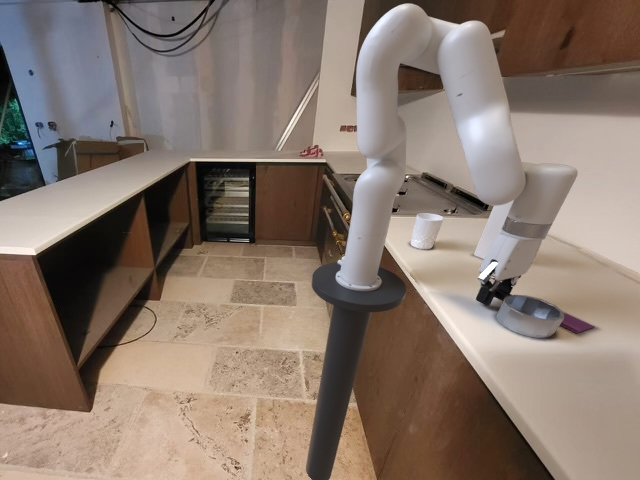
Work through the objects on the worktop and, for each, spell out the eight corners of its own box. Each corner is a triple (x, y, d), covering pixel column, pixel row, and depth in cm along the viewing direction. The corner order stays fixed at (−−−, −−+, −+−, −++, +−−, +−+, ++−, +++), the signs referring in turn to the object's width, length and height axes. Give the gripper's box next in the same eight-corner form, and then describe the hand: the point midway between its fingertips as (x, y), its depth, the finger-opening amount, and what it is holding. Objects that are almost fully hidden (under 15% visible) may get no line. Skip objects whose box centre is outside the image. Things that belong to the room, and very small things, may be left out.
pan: (466, 305, 78) (473, 288, 75) (495, 297, 80) (503, 281, 78) (532, 342, 66) (543, 324, 63) (564, 331, 68) (576, 314, 66)
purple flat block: (517, 304, 77) (518, 302, 77) (534, 300, 79) (535, 298, 79) (576, 333, 68) (577, 331, 68) (594, 327, 70) (595, 325, 69)
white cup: (406, 246, 108) (414, 217, 103) (411, 239, 114) (419, 211, 108) (432, 251, 104) (442, 222, 99) (435, 244, 110) (445, 215, 105)
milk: (485, 252, 104) (516, 181, 92) (505, 259, 99) (539, 185, 87) (473, 255, 102) (502, 183, 90) (492, 262, 97) (525, 187, 85)
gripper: (533, 217, 73) (500, 287, 82) (479, 227, 68) (450, 299, 78) (572, 228, 67) (531, 301, 76) (515, 239, 62) (479, 316, 72)
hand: (490, 300), depth 77 cm, fingers open, 4 cm apart
